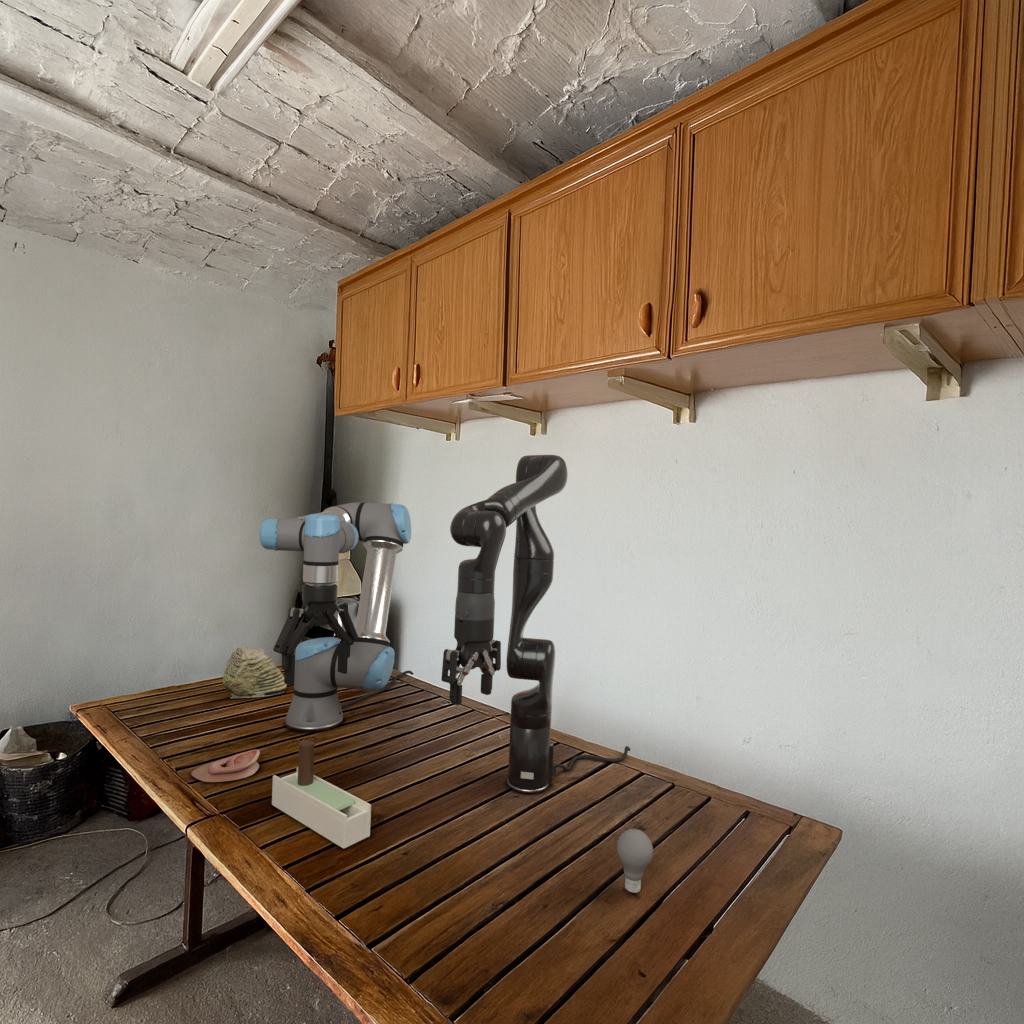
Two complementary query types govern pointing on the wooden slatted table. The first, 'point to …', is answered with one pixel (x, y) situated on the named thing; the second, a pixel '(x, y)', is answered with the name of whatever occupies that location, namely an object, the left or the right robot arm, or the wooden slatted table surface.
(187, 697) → the wooden slatted table surface
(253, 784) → the wooden slatted table surface
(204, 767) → the anatomical model
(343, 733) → the wooden slatted table surface
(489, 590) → the right robot arm
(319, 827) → the pencil box
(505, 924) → the wooden slatted table surface
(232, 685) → the fossil
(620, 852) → the light bulb
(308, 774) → the sliding lid
